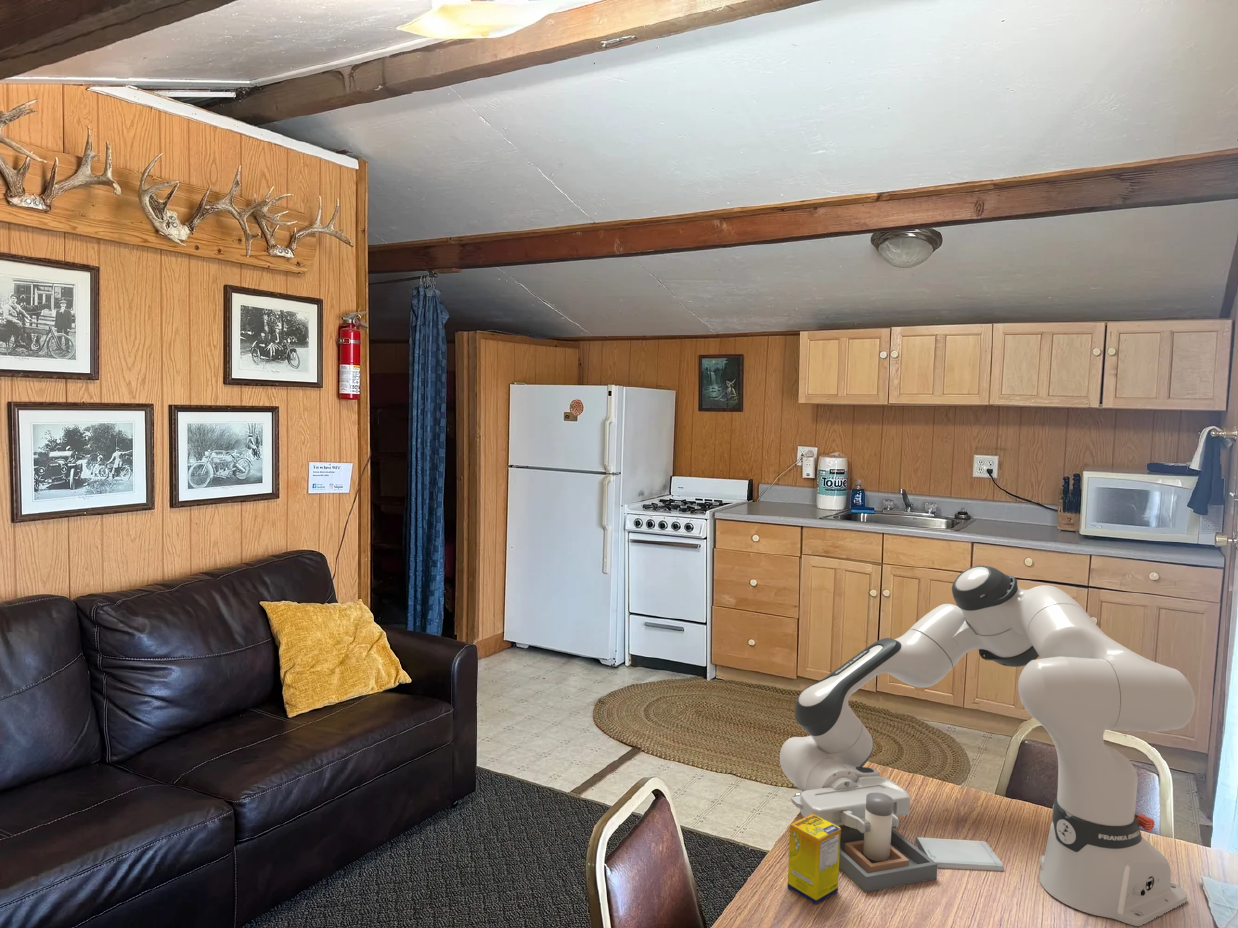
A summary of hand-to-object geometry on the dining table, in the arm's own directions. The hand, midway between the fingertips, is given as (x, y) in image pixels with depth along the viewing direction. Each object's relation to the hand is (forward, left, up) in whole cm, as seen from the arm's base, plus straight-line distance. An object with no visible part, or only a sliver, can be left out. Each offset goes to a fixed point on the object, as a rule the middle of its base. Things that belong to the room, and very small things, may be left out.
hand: (881, 826), depth 143 cm
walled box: (0, -1, -7) cm, 7 cm away
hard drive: (-16, +1, -8) cm, 17 cm away
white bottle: (0, -1, -6) cm, 6 cm away
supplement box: (+15, +3, -7) cm, 17 cm away
